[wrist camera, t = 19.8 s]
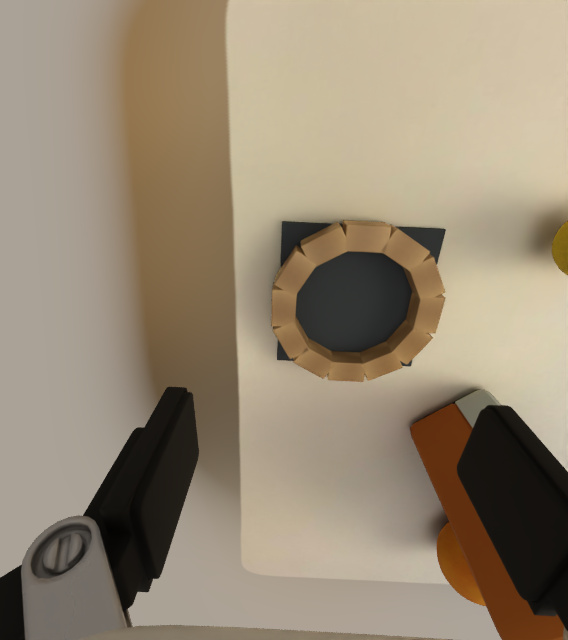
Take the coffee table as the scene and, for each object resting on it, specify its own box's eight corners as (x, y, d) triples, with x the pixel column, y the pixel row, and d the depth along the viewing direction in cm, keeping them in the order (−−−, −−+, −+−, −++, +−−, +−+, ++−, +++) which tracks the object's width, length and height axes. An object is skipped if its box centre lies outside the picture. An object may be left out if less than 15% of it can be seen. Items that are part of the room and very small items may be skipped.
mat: (277, 358, 31) (277, 360, 31) (282, 221, 26) (282, 222, 25) (409, 364, 31) (410, 366, 31) (443, 228, 26) (446, 229, 25)
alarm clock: (403, 421, 34) (531, 718, 16) (480, 380, 32) (741, 677, 13) (478, 508, 40) (635, 799, 22) (548, 480, 38) (794, 781, 19)
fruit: (473, 556, 45) (508, 631, 38) (412, 533, 43) (436, 607, 36) (529, 515, 41) (580, 590, 33) (464, 488, 39) (504, 561, 32)
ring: (271, 365, 31) (269, 377, 29) (275, 217, 25) (273, 220, 23) (414, 372, 31) (421, 384, 29) (452, 225, 25) (465, 229, 23)
